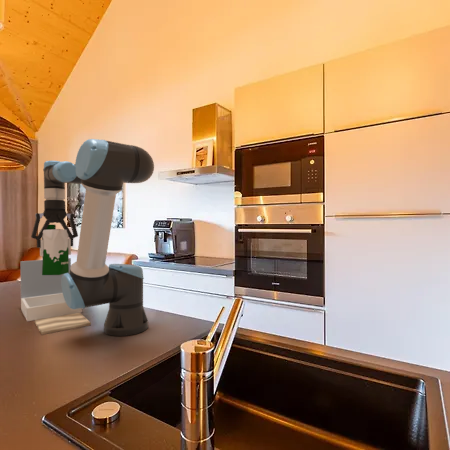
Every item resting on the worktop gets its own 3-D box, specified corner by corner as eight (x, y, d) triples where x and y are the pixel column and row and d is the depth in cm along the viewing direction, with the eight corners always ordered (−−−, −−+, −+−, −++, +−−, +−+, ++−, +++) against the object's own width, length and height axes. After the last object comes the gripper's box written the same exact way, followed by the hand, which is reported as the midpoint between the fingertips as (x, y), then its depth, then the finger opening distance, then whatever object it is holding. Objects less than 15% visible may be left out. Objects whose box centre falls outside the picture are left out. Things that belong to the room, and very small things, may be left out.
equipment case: (82, 312, 135) (81, 262, 135) (27, 321, 123) (26, 266, 123) (67, 299, 157) (67, 256, 157) (19, 306, 145) (18, 260, 144)
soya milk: (51, 272, 134) (50, 224, 134) (72, 272, 133) (71, 224, 134) (38, 275, 125) (37, 224, 125) (61, 275, 125) (60, 224, 125)
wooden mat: (90, 325, 118) (90, 322, 118) (41, 334, 109) (41, 331, 109) (79, 315, 131) (79, 312, 131) (34, 322, 121) (34, 320, 121)
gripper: (81, 201, 139) (82, 253, 139) (21, 199, 125) (22, 256, 125) (85, 200, 133) (86, 254, 133) (24, 198, 120) (24, 258, 119)
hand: (55, 255), depth 129 cm, fingers closed on soya milk, 9 cm apart
